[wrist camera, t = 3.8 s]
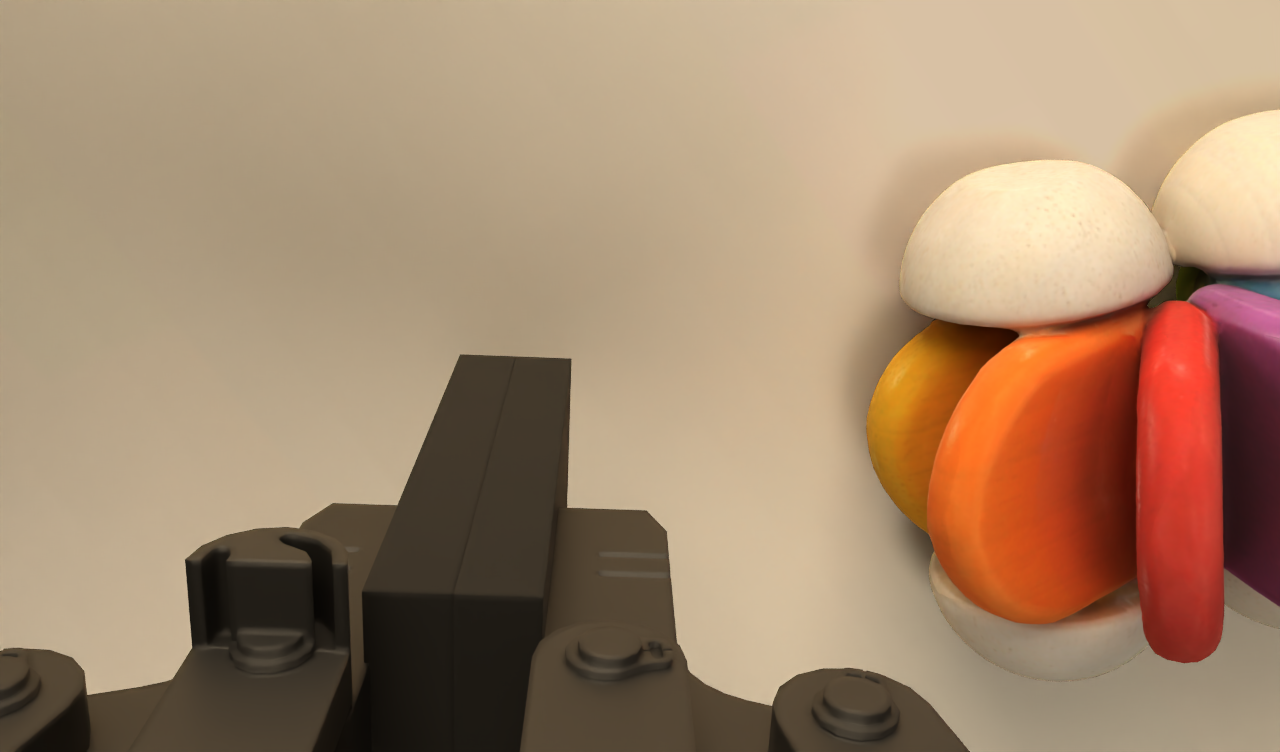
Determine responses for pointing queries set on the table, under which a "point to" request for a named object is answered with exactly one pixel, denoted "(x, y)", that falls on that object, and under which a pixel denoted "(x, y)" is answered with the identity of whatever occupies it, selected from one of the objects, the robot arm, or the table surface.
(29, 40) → the table surface
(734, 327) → the table surface
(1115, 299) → the rainbow disc baby rattle
